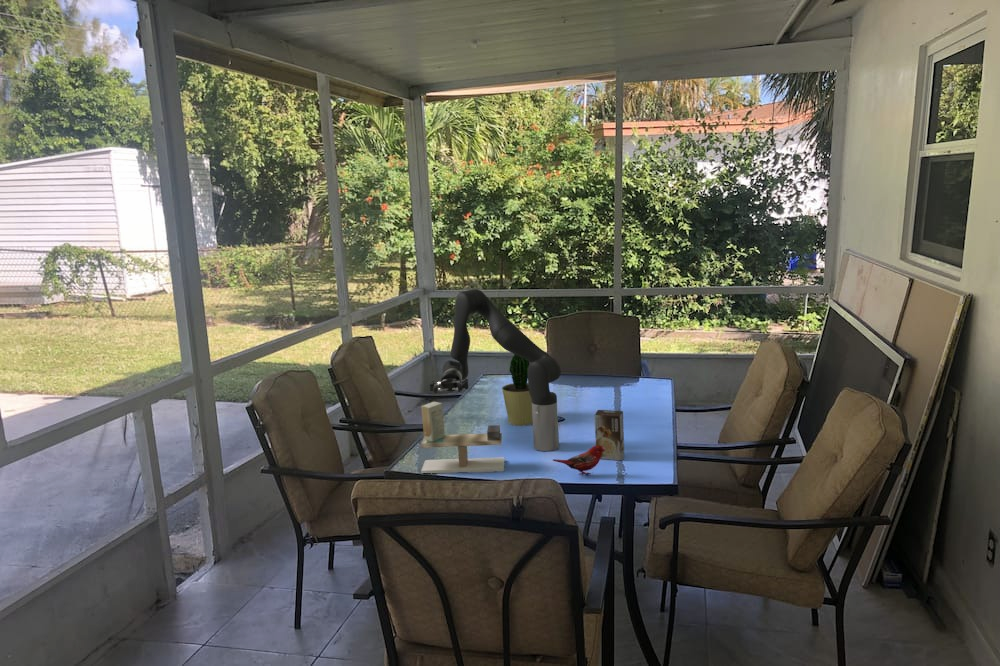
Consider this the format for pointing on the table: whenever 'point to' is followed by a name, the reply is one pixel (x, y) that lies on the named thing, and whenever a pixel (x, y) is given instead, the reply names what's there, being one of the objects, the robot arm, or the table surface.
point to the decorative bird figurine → (584, 459)
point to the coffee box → (610, 433)
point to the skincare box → (433, 421)
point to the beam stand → (463, 464)
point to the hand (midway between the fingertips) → (447, 390)
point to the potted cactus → (518, 393)
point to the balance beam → (467, 439)
